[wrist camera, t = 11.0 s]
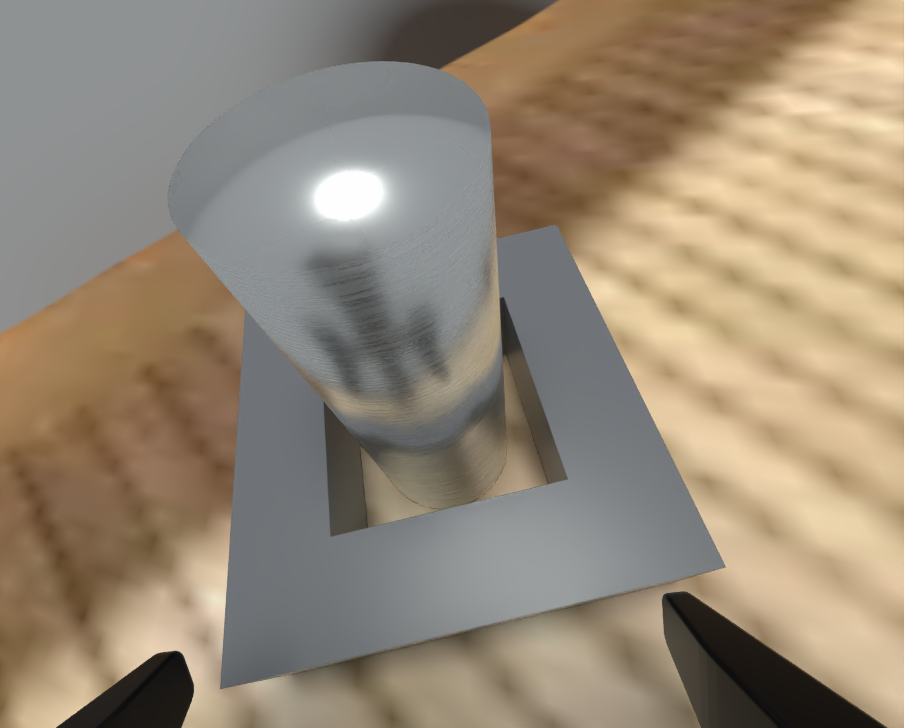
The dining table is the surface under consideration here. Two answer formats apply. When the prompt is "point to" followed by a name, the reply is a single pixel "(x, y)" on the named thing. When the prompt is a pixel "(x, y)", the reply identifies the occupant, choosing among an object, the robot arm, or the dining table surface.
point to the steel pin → (367, 258)
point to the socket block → (458, 528)
